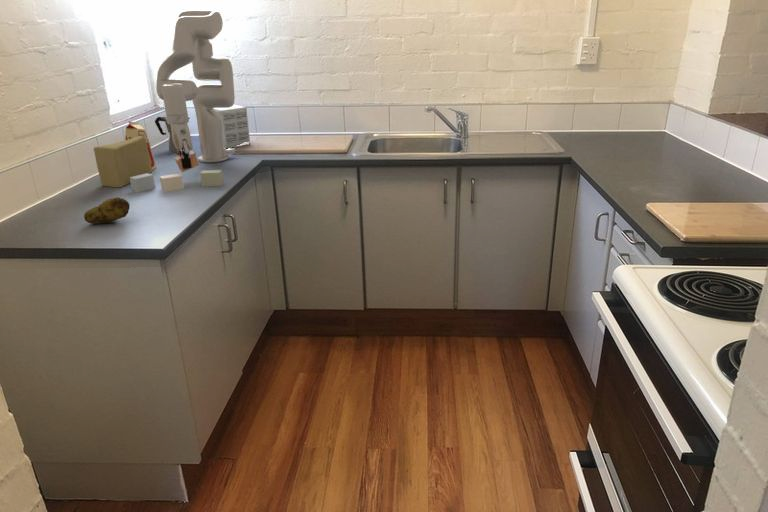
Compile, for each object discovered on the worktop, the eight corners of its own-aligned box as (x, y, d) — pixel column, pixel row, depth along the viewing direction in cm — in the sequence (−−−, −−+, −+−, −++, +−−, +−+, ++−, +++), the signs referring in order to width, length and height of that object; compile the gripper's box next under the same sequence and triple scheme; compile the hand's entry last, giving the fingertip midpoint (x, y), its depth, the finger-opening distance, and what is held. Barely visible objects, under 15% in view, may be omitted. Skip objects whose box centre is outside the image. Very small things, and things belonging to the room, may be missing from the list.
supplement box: (209, 143, 280) (204, 106, 273) (233, 139, 288) (229, 103, 281) (226, 149, 268) (221, 110, 261) (251, 144, 277) (247, 106, 269)
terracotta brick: (196, 162, 220) (191, 150, 217) (199, 165, 217) (194, 153, 215) (179, 169, 218) (174, 158, 215) (182, 172, 215) (176, 160, 212)
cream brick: (181, 186, 211) (179, 173, 209) (184, 189, 208) (182, 175, 206) (161, 189, 208) (159, 176, 206) (164, 192, 205) (162, 178, 203)
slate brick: (149, 186, 212) (147, 173, 210) (155, 188, 210) (153, 174, 208) (132, 190, 207) (129, 177, 205) (137, 192, 205) (135, 179, 203)
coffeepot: (194, 147, 273) (189, 108, 266) (193, 151, 264) (187, 111, 257) (161, 148, 270) (154, 110, 263) (158, 153, 261) (151, 113, 254)
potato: (100, 217, 180) (95, 193, 177) (136, 219, 177) (132, 195, 174) (82, 226, 172) (76, 201, 169) (120, 229, 170) (115, 203, 167)
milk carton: (145, 172, 230) (136, 122, 222) (124, 171, 232) (115, 121, 224) (157, 166, 238) (149, 118, 230) (138, 166, 240) (129, 117, 232)
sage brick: (223, 183, 215) (221, 170, 213) (220, 185, 212) (219, 172, 210) (204, 183, 215) (202, 170, 213) (201, 186, 211) (200, 173, 209)
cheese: (141, 171, 232) (134, 134, 226) (161, 173, 229) (154, 136, 223) (100, 186, 213) (91, 146, 207) (121, 188, 210) (112, 147, 204)
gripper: (194, 121, 204) (201, 170, 212) (182, 113, 217) (189, 160, 225) (172, 124, 200) (181, 174, 208) (161, 115, 213) (170, 163, 221)
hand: (185, 166), depth 217 cm, fingers closed on terracotta brick, 3 cm apart
